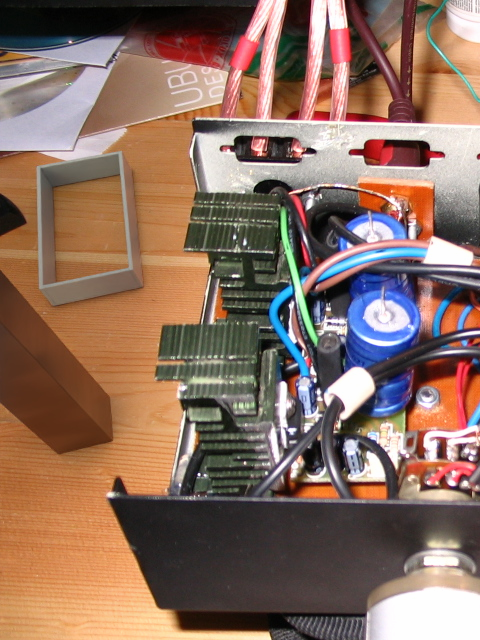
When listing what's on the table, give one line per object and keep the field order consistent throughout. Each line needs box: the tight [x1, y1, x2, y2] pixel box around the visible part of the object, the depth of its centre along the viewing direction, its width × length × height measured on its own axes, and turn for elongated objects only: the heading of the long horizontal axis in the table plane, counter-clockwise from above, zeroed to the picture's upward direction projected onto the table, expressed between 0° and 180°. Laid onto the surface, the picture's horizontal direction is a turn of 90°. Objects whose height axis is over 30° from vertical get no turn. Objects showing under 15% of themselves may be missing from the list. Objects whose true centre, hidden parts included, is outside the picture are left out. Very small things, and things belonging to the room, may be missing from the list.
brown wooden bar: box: [0, 269, 114, 455], centre depth 64 cm, size 5×5×26 cm
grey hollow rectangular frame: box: [36, 150, 144, 307], centre depth 85 cm, size 9×18×3 cm, turn 17°
